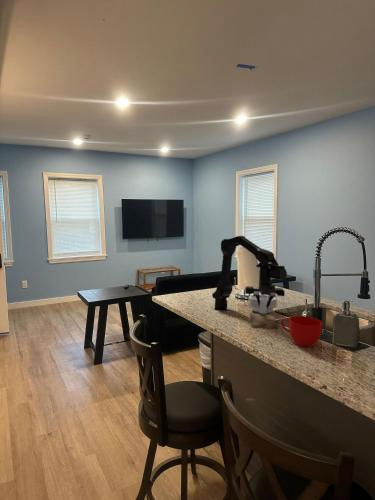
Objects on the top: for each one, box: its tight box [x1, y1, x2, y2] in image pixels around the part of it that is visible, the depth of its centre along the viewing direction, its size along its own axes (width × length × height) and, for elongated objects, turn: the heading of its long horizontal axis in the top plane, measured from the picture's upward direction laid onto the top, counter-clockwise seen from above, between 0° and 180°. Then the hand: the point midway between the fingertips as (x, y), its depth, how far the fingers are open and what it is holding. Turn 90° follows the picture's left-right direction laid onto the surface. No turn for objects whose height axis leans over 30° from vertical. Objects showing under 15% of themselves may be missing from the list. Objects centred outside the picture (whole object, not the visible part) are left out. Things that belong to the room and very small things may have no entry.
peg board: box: [249, 312, 279, 330], centre depth 168 cm, size 12×19×4 cm, turn 172°
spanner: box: [258, 299, 268, 314], centre depth 168 cm, size 3×11×4 cm, turn 164°
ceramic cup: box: [280, 315, 324, 348], centre depth 140 cm, size 13×17×10 cm
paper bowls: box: [248, 294, 278, 314], centre depth 188 cm, size 15×15×8 cm
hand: (263, 308), depth 168 cm, fingers closed on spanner, 3 cm apart
